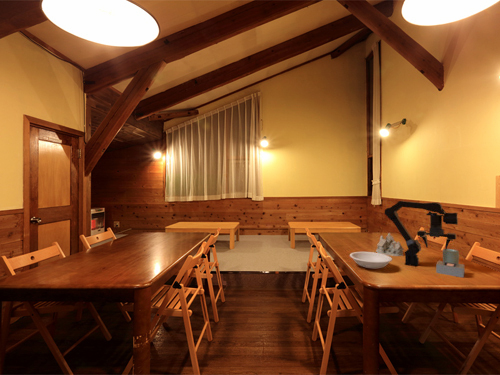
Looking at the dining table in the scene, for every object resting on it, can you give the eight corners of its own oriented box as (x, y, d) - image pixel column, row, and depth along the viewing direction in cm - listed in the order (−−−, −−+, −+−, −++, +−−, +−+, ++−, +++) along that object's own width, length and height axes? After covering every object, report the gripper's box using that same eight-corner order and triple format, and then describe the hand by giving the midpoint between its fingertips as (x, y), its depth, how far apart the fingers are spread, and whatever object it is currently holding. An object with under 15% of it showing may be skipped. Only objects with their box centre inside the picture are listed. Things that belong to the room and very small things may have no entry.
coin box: (436, 272, 147) (436, 264, 147) (438, 268, 154) (438, 260, 154) (463, 277, 139) (463, 268, 139) (464, 273, 146) (464, 264, 146)
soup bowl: (350, 271, 152) (350, 260, 152) (349, 260, 175) (349, 250, 175) (396, 275, 144) (395, 263, 144) (388, 263, 166) (388, 253, 166)
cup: (440, 265, 160) (440, 249, 160) (447, 263, 164) (447, 248, 164) (454, 269, 153) (453, 252, 153) (461, 267, 156) (461, 251, 156)
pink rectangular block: (446, 269, 146) (446, 265, 146) (447, 267, 149) (447, 263, 149) (452, 270, 144) (452, 266, 144) (454, 268, 147) (454, 264, 147)
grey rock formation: (373, 250, 198) (374, 231, 197) (394, 251, 198) (395, 232, 197) (383, 257, 183) (385, 237, 182) (406, 258, 183) (408, 237, 182)
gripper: (415, 223, 155) (415, 248, 155) (454, 226, 142) (454, 254, 142) (418, 221, 163) (419, 245, 163) (456, 223, 150) (456, 250, 150)
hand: (436, 248), depth 154 cm, fingers open, 9 cm apart
